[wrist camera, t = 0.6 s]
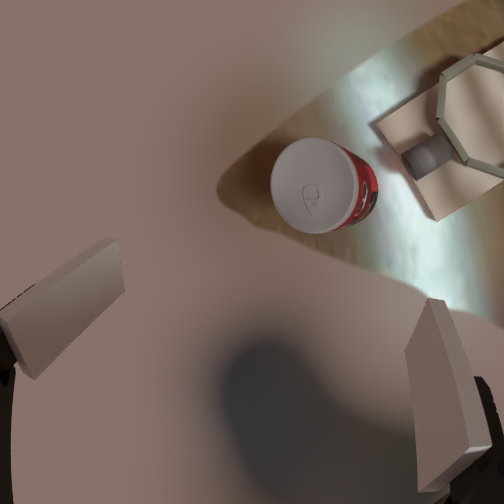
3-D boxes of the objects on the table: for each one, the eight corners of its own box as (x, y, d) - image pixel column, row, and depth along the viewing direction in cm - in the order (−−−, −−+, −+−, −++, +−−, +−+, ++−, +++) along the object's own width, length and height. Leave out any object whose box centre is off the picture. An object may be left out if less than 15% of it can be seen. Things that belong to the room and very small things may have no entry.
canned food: (330, 234, 35) (289, 247, 26) (304, 171, 36) (255, 162, 27) (390, 209, 31) (373, 213, 22) (361, 143, 32) (330, 120, 22)
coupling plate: (519, 32, 17) (526, 14, 13) (582, 124, 15) (598, 116, 12) (376, 124, 30) (367, 113, 26) (437, 224, 28) (439, 227, 25)
